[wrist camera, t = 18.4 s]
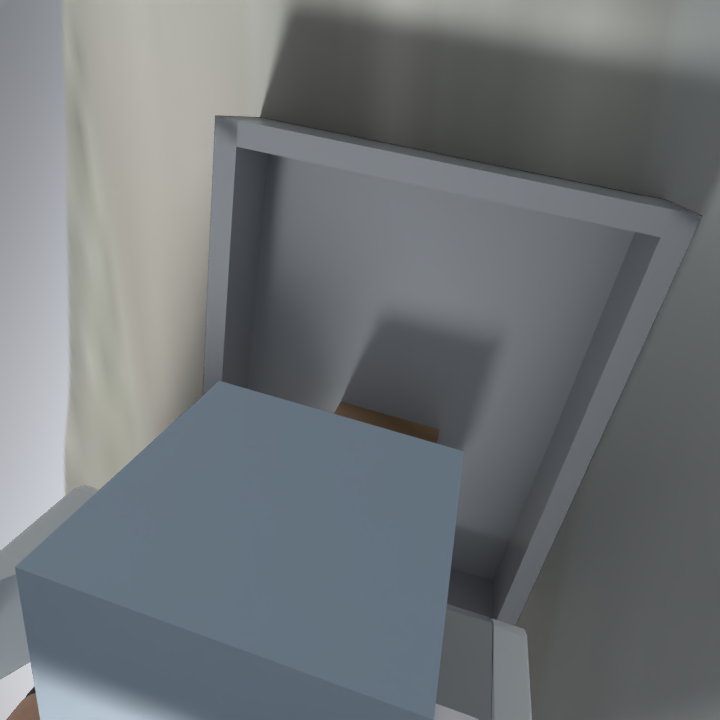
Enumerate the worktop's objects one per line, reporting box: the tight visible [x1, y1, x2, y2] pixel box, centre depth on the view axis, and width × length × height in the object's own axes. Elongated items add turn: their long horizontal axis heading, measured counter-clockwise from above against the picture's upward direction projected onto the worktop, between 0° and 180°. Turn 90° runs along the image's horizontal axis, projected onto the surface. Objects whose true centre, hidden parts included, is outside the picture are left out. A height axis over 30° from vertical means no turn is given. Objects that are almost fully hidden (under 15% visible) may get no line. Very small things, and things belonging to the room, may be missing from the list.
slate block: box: [15, 381, 464, 720], centre depth 8 cm, size 4×4×4 cm
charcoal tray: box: [203, 116, 702, 626], centre depth 22 cm, size 19×15×4 cm
